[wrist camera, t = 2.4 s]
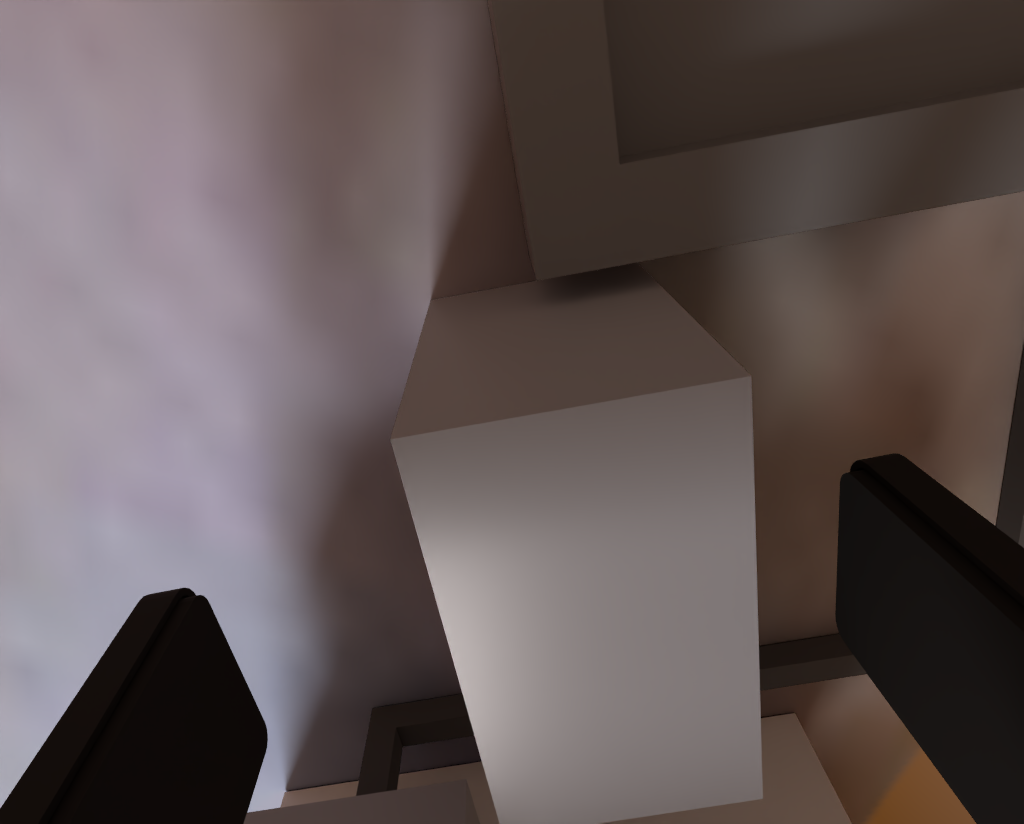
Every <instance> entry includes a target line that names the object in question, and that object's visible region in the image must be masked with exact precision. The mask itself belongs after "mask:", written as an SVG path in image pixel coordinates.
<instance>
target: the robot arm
mask: <svg viewBox="0 0 1024 824" xmlns="http://www.w3.org/2000/svg"><path fill="white" fill-rule="evenodd" d="M836 623H837V627H838V630H839V633H840V635H841V637H842V639H843V641H844V643H845V644H846V645H847V647H848V648H849V650H850V651H851V652H852V654H853V655H854V656H855V658H856V659H857V661H858V662H859V663H860V665H861V666H862V667H863V669H864V670H865V671H866V673H867V674H868V676H869V677H870V678H871V680H872V681H873V682H874V684H875V685H876V687H877V688H878V689H879V691H880V692H881V693H882V695H883V696H884V697H885V699H886V700H887V702H888V703H889V704H890V706H891V707H892V708H893V710H894V711H895V713H896V714H897V715H898V717H899V718H900V719H901V721H902V722H903V723H904V725H905V726H906V728H907V729H908V730H909V732H910V733H911V734H912V736H913V737H914V739H915V740H916V741H917V743H918V744H919V745H920V747H921V748H922V749H923V751H924V752H925V754H926V755H927V756H928V757H929V759H930V760H931V762H932V763H933V765H934V766H935V767H936V769H937V770H938V771H939V773H940V774H941V775H942V777H943V778H944V779H945V781H946V782H947V784H948V785H949V786H950V788H951V789H952V790H953V792H954V793H955V795H956V796H957V797H958V799H959V800H960V801H961V803H962V804H963V805H964V807H965V808H966V810H967V811H968V812H969V814H970V815H971V816H972V818H973V819H974V820H975V822H976V823H977V824H1024V548H1023V547H1022V546H1021V545H1019V544H1018V543H1017V542H1015V541H1014V540H1013V539H1012V538H1010V537H1009V536H1008V535H1006V534H1005V533H1004V532H1002V531H1001V530H1000V529H998V528H997V527H996V526H994V525H993V524H992V523H991V522H989V521H988V520H987V519H985V518H984V517H983V516H981V515H980V514H979V513H977V512H976V511H975V510H974V509H972V508H971V507H970V506H968V505H967V504H966V503H964V502H963V501H962V500H960V499H959V498H958V497H956V496H955V495H954V494H953V493H951V492H950V491H949V490H947V489H946V488H945V487H943V486H942V485H941V484H939V483H938V482H937V481H936V480H934V479H933V478H932V477H930V476H929V475H928V474H926V473H925V472H924V471H922V470H921V469H920V468H918V467H917V466H916V465H915V464H913V463H912V462H911V461H909V460H908V459H907V458H905V457H904V456H902V455H900V454H889V455H883V456H878V457H873V458H868V459H862V460H857V461H855V462H854V463H853V464H852V466H851V469H850V472H848V473H845V474H843V475H842V477H841V481H840V500H839V529H838V558H837V587H836ZM267 740H268V738H267V728H266V725H265V722H264V720H263V717H262V715H261V713H260V711H259V709H258V707H257V704H256V702H255V700H254V698H253V696H252V694H251V692H250V689H249V687H248V685H247V683H246V681H245V679H244V677H243V674H242V672H241V670H240V668H239V666H238V664H237V662H236V659H235V657H234V655H233V653H232V651H231V649H230V646H229V644H228V642H227V640H226V638H225V636H224V634H223V631H222V629H221V627H220V625H219V623H218V621H217V619H216V616H215V614H214V612H213V610H212V608H211V606H210V604H209V602H208V600H207V599H206V598H205V597H204V596H202V595H198V596H196V595H195V593H194V592H193V591H192V590H191V589H189V588H180V589H175V590H170V591H165V592H159V593H154V594H149V595H146V596H144V597H143V598H142V599H141V600H140V601H139V602H138V604H137V605H136V607H135V608H134V610H133V611H132V613H131V614H130V616H129V617H128V619H127V620H126V622H125V623H124V625H123V626H122V628H121V629H120V630H119V632H118V633H117V635H116V636H115V638H114V639H113V641H112V642H111V644H110V645H109V647H108V648H107V650H106V651H105V653H104V654H103V656H102V657H101V659H100V660H99V662H98V663H97V665H96V666H95V668H94V669H93V671H92V672H91V674H90V675H89V677H88V678H87V680H86V681H85V683H84V684H83V686H82V687H81V689H80V690H79V692H78V693H77V695H76V696H75V698H74V699H73V701H72V702H71V704H70V705H69V707H68V708H67V710H66V711H65V713H64V714H63V716H62V717H61V719H60V720H59V722H58V723H57V725H56V726H55V728H54V729H53V731H52V732H51V734H50V735H49V737H48V738H47V740H46V741H45V743H44V744H43V746H42V747H41V749H40V750H39V752H38V753H37V755H36V756H35V758H34V759H33V761H32V762H31V764H30V765H29V767H28V768H27V770H26V771H25V773H24V774H23V776H22V777H21V779H20V780H19V782H18V783H17V785H16V786H15V788H14V789H13V791H12V792H11V794H10V795H9V797H8V798H7V800H6V801H5V803H4V804H3V805H2V807H1V808H0V824H244V821H245V817H246V814H247V811H248V808H249V805H250V801H251V798H252V795H253V792H254V788H255V785H256V782H257V779H258V775H259V772H260V769H261V766H262V762H263V759H264V756H265V753H266V748H267Z"/></svg>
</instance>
